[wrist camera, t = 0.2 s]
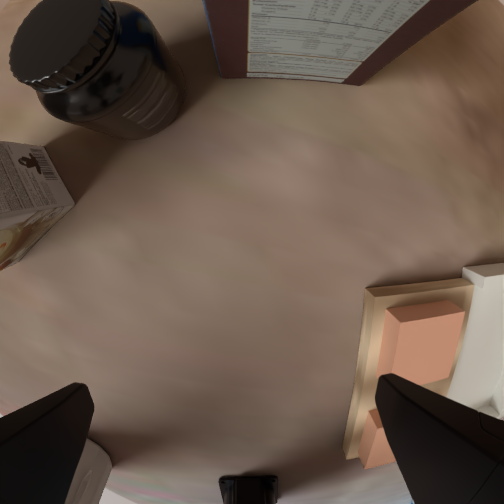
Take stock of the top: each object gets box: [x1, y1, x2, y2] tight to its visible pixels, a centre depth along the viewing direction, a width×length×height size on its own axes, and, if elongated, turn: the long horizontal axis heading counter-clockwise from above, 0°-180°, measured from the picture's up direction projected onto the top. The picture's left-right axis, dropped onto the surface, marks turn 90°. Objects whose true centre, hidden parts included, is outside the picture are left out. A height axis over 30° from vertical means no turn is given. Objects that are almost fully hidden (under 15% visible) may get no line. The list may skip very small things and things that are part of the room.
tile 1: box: [358, 409, 396, 469], centre depth 23 cm, size 6×6×2 cm
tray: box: [446, 263, 504, 420], centre depth 23 cm, size 20×12×3 cm, turn 2°
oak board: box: [342, 278, 474, 460], centre depth 24 cm, size 18×10×2 cm, turn 2°
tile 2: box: [376, 300, 465, 385], centre depth 20 cm, size 6×6×2 cm
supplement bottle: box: [9, 0, 185, 140], centre depth 13 cm, size 7×7×12 cm
